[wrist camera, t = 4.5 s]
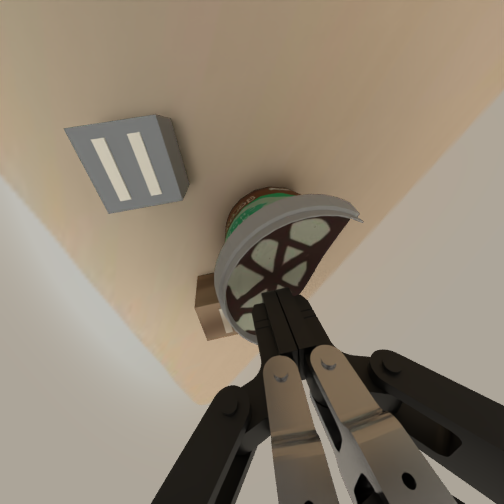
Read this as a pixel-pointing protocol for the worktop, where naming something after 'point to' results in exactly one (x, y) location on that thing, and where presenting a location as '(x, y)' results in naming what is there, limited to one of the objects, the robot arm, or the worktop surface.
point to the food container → (274, 248)
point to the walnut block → (211, 310)
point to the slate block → (132, 161)
